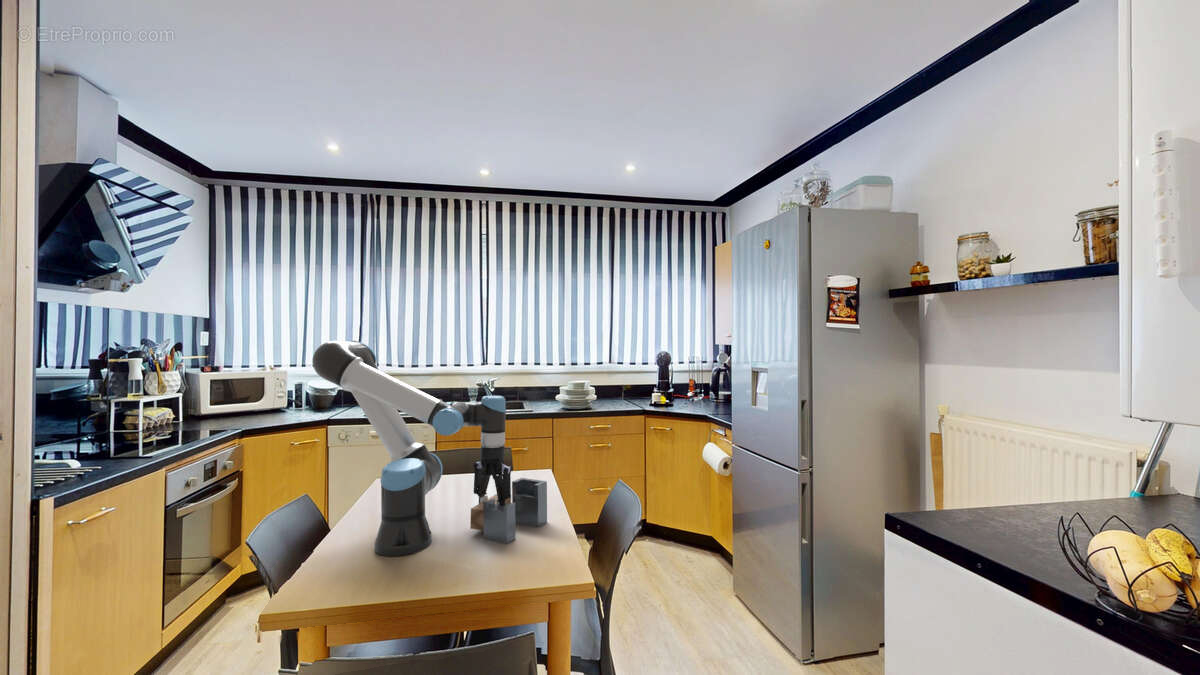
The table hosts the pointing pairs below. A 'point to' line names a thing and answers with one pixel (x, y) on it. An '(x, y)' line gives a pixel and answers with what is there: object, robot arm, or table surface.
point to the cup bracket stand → (516, 510)
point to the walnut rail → (482, 513)
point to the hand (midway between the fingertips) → (491, 518)
